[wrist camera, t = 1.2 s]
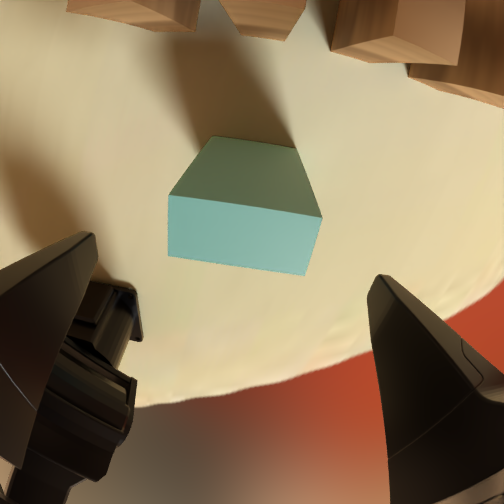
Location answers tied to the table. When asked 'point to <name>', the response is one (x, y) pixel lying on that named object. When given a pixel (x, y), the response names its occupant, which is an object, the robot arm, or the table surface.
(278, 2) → the domino
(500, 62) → the domino
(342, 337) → the table surface
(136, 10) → the domino
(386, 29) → the domino
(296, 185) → the teal domino
